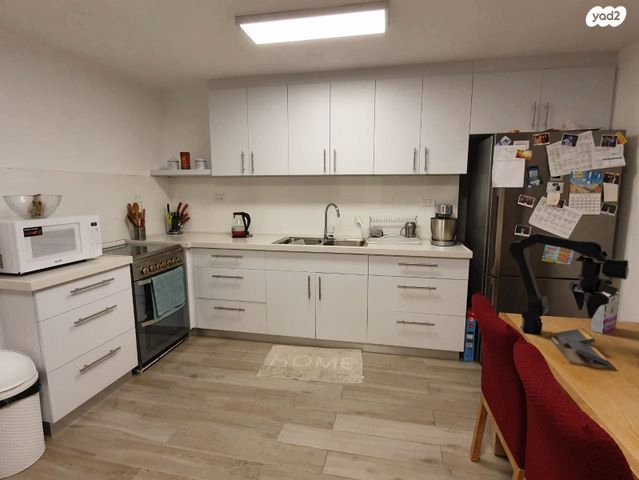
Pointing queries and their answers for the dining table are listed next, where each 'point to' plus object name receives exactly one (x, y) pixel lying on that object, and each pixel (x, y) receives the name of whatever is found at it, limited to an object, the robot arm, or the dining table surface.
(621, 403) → the dining table surface
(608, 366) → the switch unit
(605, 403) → the dining table surface
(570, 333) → the block
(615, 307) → the candy bar box
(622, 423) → the dining table surface
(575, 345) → the rocker outer
